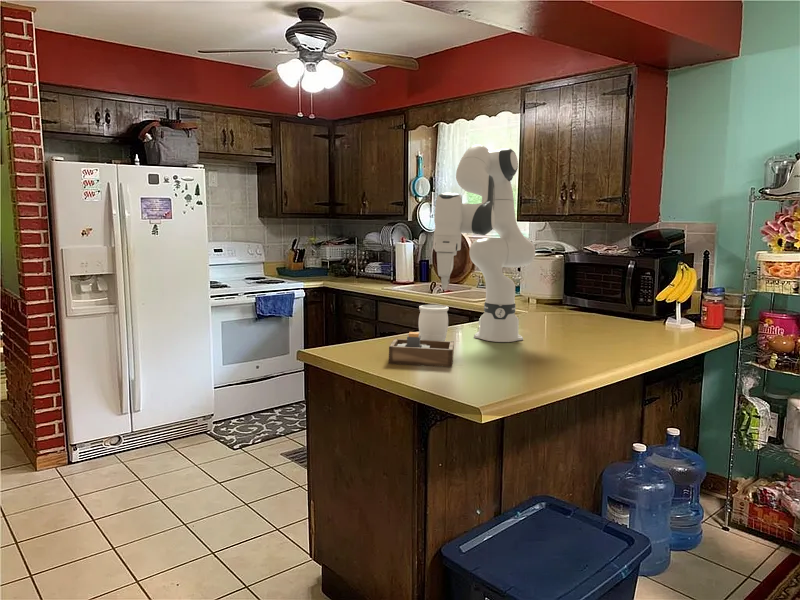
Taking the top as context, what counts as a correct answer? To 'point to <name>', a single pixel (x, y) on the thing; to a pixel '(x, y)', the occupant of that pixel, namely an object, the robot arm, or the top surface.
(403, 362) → the box
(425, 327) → the jar
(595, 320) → the top surface
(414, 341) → the block
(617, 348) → the top surface
